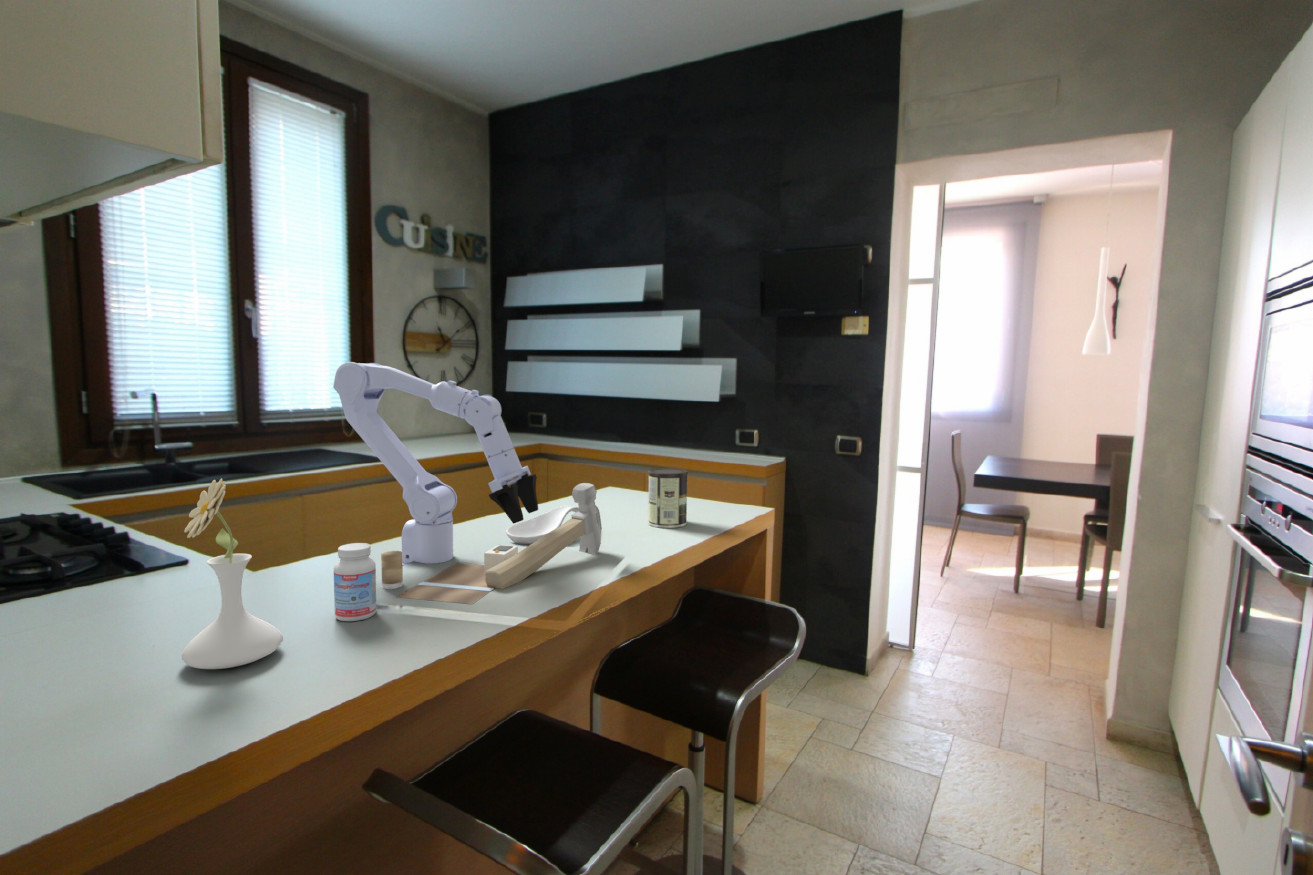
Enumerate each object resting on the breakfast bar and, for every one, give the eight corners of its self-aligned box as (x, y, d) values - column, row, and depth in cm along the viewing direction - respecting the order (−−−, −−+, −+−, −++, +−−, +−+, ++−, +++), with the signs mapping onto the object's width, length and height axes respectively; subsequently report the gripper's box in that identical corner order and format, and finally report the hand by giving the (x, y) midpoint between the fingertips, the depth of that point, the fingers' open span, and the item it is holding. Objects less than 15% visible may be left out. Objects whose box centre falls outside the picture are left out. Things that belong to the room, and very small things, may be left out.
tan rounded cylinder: (378, 594, 111) (376, 555, 111) (390, 588, 115) (389, 550, 114) (395, 596, 111) (394, 556, 110) (407, 589, 114) (406, 551, 113)
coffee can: (673, 517, 174) (674, 466, 173) (694, 525, 165) (695, 472, 164) (640, 521, 169) (641, 469, 168) (660, 530, 160) (661, 474, 159)
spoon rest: (530, 554, 138) (530, 522, 137) (495, 545, 145) (495, 514, 144) (603, 533, 157) (603, 505, 156) (568, 526, 164) (568, 499, 163)
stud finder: (484, 573, 119) (484, 550, 118) (498, 564, 124) (498, 542, 124) (504, 575, 118) (504, 552, 117) (518, 566, 124) (517, 544, 123)
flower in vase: (194, 648, 89) (184, 470, 86) (288, 635, 93) (281, 467, 91) (166, 691, 77) (153, 487, 74) (276, 674, 81) (267, 481, 79)
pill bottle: (331, 624, 98) (328, 552, 97) (339, 610, 104) (337, 542, 103) (373, 620, 100) (371, 550, 98) (379, 606, 105) (377, 540, 104)
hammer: (496, 546, 109) (598, 483, 133) (476, 542, 111) (581, 481, 135) (510, 626, 113) (607, 551, 138) (491, 620, 116) (590, 547, 140)
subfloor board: (395, 603, 107) (395, 596, 107) (456, 568, 126) (456, 562, 126) (472, 611, 104) (472, 603, 104) (522, 574, 123) (522, 567, 123)
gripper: (501, 452, 118) (529, 520, 119) (532, 441, 132) (556, 501, 133) (469, 465, 120) (497, 531, 121) (503, 452, 134) (527, 511, 135)
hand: (526, 516), depth 127 cm, fingers open, 7 cm apart
